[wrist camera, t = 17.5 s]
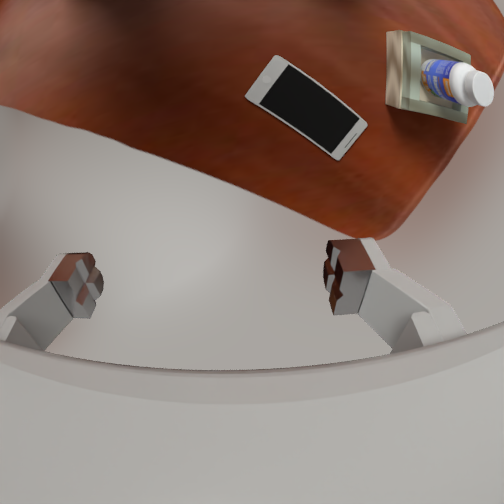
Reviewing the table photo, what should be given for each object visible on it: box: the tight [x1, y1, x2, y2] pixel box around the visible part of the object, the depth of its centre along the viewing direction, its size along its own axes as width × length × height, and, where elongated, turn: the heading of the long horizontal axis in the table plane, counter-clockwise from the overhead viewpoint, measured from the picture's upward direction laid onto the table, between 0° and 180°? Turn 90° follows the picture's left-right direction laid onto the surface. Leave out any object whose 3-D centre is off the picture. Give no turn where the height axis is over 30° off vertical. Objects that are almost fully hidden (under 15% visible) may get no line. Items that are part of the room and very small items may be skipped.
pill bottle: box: [421, 59, 494, 107], centre depth 20 cm, size 5×5×10 cm
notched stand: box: [385, 30, 471, 124], centre depth 24 cm, size 11×11×6 cm
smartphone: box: [245, 55, 367, 160], centre depth 31 cm, size 7×16×1 cm, turn 57°
